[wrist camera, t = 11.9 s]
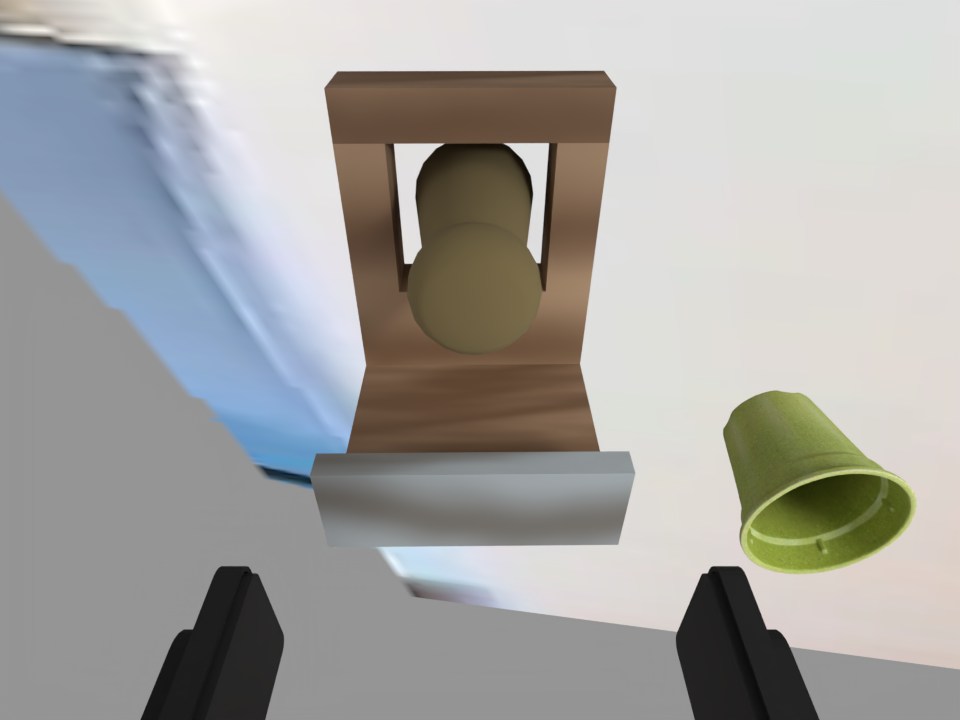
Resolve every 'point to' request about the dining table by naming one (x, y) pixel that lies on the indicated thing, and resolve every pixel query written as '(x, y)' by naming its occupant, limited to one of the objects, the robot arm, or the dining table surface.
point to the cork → (474, 249)
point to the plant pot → (809, 488)
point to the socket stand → (464, 377)
